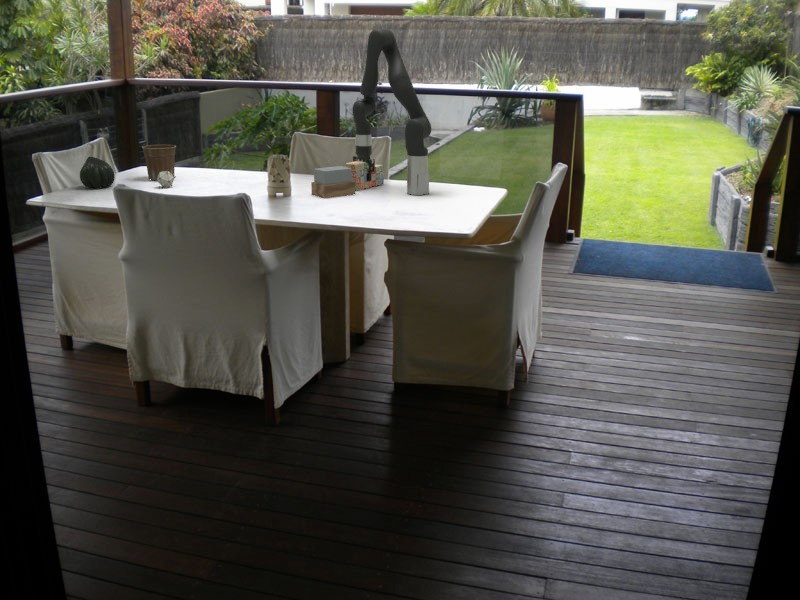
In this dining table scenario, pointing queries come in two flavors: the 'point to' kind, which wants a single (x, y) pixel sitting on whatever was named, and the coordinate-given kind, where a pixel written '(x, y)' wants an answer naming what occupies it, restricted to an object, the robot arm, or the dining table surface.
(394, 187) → the dining table surface
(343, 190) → the tower base block
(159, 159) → the plant pot
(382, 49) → the robot arm
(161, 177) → the game die
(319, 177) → the tower top block
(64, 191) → the dining table surface
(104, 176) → the squash
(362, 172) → the stack of blocks
